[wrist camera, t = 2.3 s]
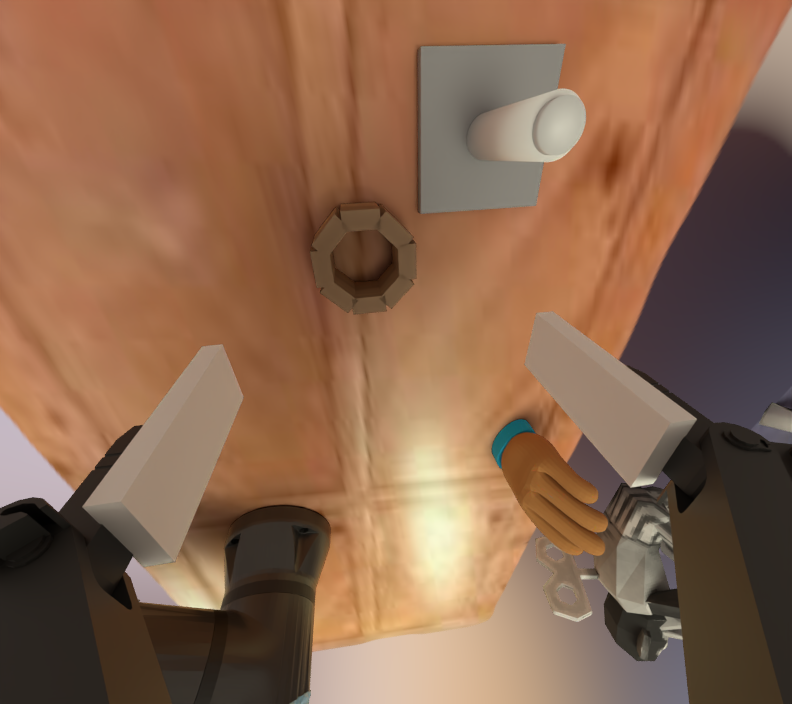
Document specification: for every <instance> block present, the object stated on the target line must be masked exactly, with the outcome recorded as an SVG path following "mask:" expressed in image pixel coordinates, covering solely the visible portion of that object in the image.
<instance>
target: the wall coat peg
mask: <svg viewBox="0 0 792 704" xmlns="http://www.w3.org/2000/svg"><path fill="white" fill-rule="evenodd" d="M565 45H566V44H529V45H470V46H421V47H420V48H419V50H418V212H419V213H420V214H425V213H440V212H454V211H468V210H482V209H497V208H511V207H525V206H536V203H537V197H538V192H539V186H540V181H541V175H542V170H543V164H544V162H552V161H556V160H558V159H560V158H562V157H563V156H564V155H566V154H567V153H568V152H569V151H570V150H571V149H572V147H573V146H574V145H575V144H576V143H577V142H578V140H579V139H580V137H581V135H582V133H583V130H584V127H585V122H586V111H585V107H584V104H583V102H582V101H581V100H580V98H579V96H578V95H577V94H576V93H575V92H573V91H571V90H569V89H557V88H558V83H559V77H560V72H561V67H562V61H563V56H564V50H565Z"/></svg>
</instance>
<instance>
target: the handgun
mask: <svg viewBox="0 0 792 704" xmlns="http://www.w3.org/2000/svg"><path fill="white" fill-rule="evenodd" d="M759 424H761V425H765V426H769V427H773V428H777V429H781V430H785V431H789V432H792V409H789V408H785V407H782V406H779V405H777V404H775V403H773V402H772V403H771V404H770V405H769V407H768V408H767V409H766V410H765V412H764V414H763V417H762V419H761V421H760V423H759Z"/></svg>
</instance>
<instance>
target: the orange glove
mask: <svg viewBox="0 0 792 704" xmlns="http://www.w3.org/2000/svg"><path fill="white" fill-rule="evenodd" d="M492 454H493V456H494V458H495V460H496V462H497V464H498V466H499V467H500V468H501V469H502V470H503V473H504V476H505V478H506V480H507V482H508V484H509V486H510V487H511V489H512V491H513V493H514V495H515V497H516V498H517V500H518V502H519V504H520V506H521V507H522V509H523V510H524V511H525V513H526V514H527V515H528V517H529V518H530V519H531V521H532V522H533V523H534V524H535V526H536V527H537V528H538V529H539V530H540V531H541V532H542V533H543V535H545V537H546V538H547V539H548V540H550V541H551V542H552V543H553V544H554V545H555V546H557V547H558V548H559V549H560V550H562V551H564V552H565V553H568V554H570V555H580V554H582V553H583V551H585V552H587V553H589V554H592V555H595V556H600V555H602V554H603V553H604V551H605V544H604V541H603V540H602V539H601V538H600V537H599V536H598V535H597V534H595V533H594V532H603V531H605V530H606V528H607V526H608V519H607V517H606V516H605V515H604V514H602V513H601V512H599V511H597V510H595V509H593V508H591V507H589V506H588V505H586V504H584V503H587V504H592V503H595V502H596V501H597V499H598V491H597V489H596V488H595V487H594V486H593V485H592V484H591V483H589V482H587V481H586V480H584V479H582V478H581V477H580V476H579V475H577V474H576V473H575V472H574V470H573V469H572V468H570V466H569V465H568V464H567V463H566V462H565V461H564V460H563V458H562V457H561V456H560V455H559V453H558V452H557V450H556V449H555V447H554V446H553V445H552V444H551V443H550V442H549V441H548V440H546V439H545V438H543V437H542V436H540V435H537V434H536V433H535V432H534V430H533V429H532V427H531V426H530V424H529V423H528V422H527V421H526V420H524V419H519V420H515V421H513V422H511V423H509V424H508V425H507V426H505V427H504V428H503V429H502V430H501V431H500V432H499V434H498V435H497V437H496V438H495V440H494V442H493V445H492ZM592 531H593V532H592Z"/></svg>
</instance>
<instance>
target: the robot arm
mask: <svg viewBox="0 0 792 704" xmlns="http://www.w3.org/2000/svg"><path fill="white" fill-rule="evenodd" d="M525 366H526V367H527V368H528V369H529V371H530V372H531V373H532V374H533V375H534V376H535V378H536V379H537V380H538V381H539V382H540V383H541V384H542V386H543V387H544V388H545V389H546V390H547V391H548V393H549V394H550V395H551V396H552V397H553V398H554V400H555V401H556V402H557V403H558V404H559V405H560V407H561V408H562V409H563V410H564V411H565V412H566V413H567V415H568V416H569V417H570V418H571V419H572V420H573V422H574V423H575V424H576V425H577V426H578V427H579V429H580V430H581V431H582V432H583V433H584V434H585V435H586V437H587V438H588V439H589V440H590V441H591V442H592V443H593V445H594V446H595V447H596V448H597V449H598V451H599V452H600V453H601V454H602V455H603V456H604V458H605V459H606V460H607V461H608V462H609V463H610V464H611V466H613V468H614V469H615V470H616V471H617V473H618V474H619V475H620V476H621V477H622V478H623V479H624V481H625V482H626V483H627V484H628V485H629V486H630V488H631V487H638V486H644V485H650V484H654V482H655V481H656V479H657V478H658V476H659V475H660V473H661V472H662V471H663V472H664V473H665V474H666V475H667V476H668V477H669V478H670V479H671V480H670V482H669V483H668V485H667V486H666V487H665V489H664V490H663V491H662V493H661V494H660V496H659V497H658V498H657V502H656V504H658V505H661V504H662V503H663V502H664V500H665V499H667V498H668V507H667V508H668V509H669V514H670V524H671V534H672V543H673V553H674V562H675V570H676V581H677V591H678V600H679V610H680V619H681V629H682V638H683V648H684V657H685V666H686V676H687V686H688V695H689V704H792V444H784V443H775V442H769V441H768V440H766V439H765V438H764V437H762V436H761V435H759V434H757V433H755V432H753V431H751V430H749V429H747V428H744V427H741V426H738V425H735V424H730V423H725V422H722V423H713V422H712V421H710V420H709V419H707V418H706V417H705V416H703V415H702V414H700V413H699V412H698V411H696V410H695V409H694V408H692V407H691V406H689V405H688V404H687V403H685V402H684V401H682V400H681V399H680V398H678V397H677V396H675V395H674V394H673V393H669V390H667V389H666V388H665V387H663V386H662V385H658V382H656V381H655V380H653V379H652V378H651V377H649V376H648V375H647V374H645V373H643V372H641V371H639V370H637V369H634V368H632V367H630V366H625V365H624V364H623V363H621V362H620V361H619V360H617V359H616V358H615V357H613V356H612V355H611V354H609V353H608V352H606V351H605V350H604V349H602V348H601V347H600V346H598V345H597V344H596V343H594V342H593V341H592V340H590V339H589V338H588V337H586V336H585V335H584V334H582V333H581V332H580V331H578V330H577V329H576V328H574V327H573V326H572V325H570V324H569V323H568V322H566V321H565V320H564V319H562V318H561V317H560V316H558V315H557V314H556V313H554V312H553V311H552V312H542V313H536V317H535V321H534V325H533V330H532V334H531V338H530V343H529V347H528V352H527V356H526V360H525ZM243 398H244V397H243V394H242V392H241V389H240V387H239V384H238V382H237V379H236V377H235V374H234V372H233V369H232V367H231V364H230V362H229V359H228V357H227V354H226V352H225V349H224V347H223V344H221V345H211V346H202V347H201V349H200V350H199V351H198V353H197V354H196V355H195V357H194V358H193V359H192V361H191V362H190V363H189V365H188V366H187V367H186V369H185V370H184V371H183V373H182V374H181V375H180V377H179V378H178V379H177V381H176V382H175V383H174V385H173V386H172V387H171V389H170V390H169V391H168V393H167V394H166V395H165V397H164V398H163V399H162V401H161V402H160V403H159V405H158V406H157V407H156V409H155V410H154V412H153V413H152V414H151V416H150V417H149V418H148V420H147V421H146V422H145V424H144V425H140V426H134V427H132V428H131V429H130V430H129V431H127V432H126V433H125V434H124V435H122V436H121V437H120V438H118V439H117V440H116V441H115V443H114V444H113V445H112V446H111V448H110V449H109V450H108V451H107V453H106V454H105V457H104V458H102V459H101V460H100V461H99V463H98V464H97V465H96V466H95V470H92V471H91V473H90V474H89V475H88V476H87V478H86V479H85V480H84V481H83V483H82V484H81V485H80V486H79V488H78V489H77V490H76V491H75V493H74V494H73V495H72V496H71V498H70V499H69V500H68V501H67V502H66V504H65V505H64V506H63V507H62V509H61V510H60V511H59V512H57V511H56V510H55V509H54V508H53V507H52V506H51V505H50V504H48V503H47V502H46V501H45V500H44V499H42V498H34V497H32V498H28V499H23V500H19V501H16V502H14V503H11V504H9V505H6V506H4V507H2V508H0V704H309V698H310V696H311V690H310V676H311V658H312V642H313V625H314V609H315V608H314V606H315V593H316V587H317V584H318V581H319V578H320V575H321V572H322V569H323V566H324V563H325V560H326V557H327V554H328V551H329V548H330V536H331V529H330V525H329V523H328V522H327V521H326V519H325V518H323V517H322V516H321V515H319V514H317V513H315V512H313V511H311V510H308V509H304V508H299V507H291V506H276V507H268V508H263V509H258V510H255V511H252V512H250V513H247V514H245V515H243V516H242V517H240V518H239V519H237V520H236V521H235V522H234V523H233V524H232V526H231V527H230V529H229V532H228V536H227V539H226V542H225V547H224V572H225V594H224V598H223V602H222V606H221V609H220V610H213V609H202V608H192V607H182V606H171V605H162V604H152V603H142V602H139V601H140V600H138V599H137V596H136V593H135V590H134V587H133V584H132V581H131V578H130V577H129V576H128V575H127V573H126V572H125V570H126V568H127V566H128V564H129V562H130V560H131V559H132V557H134V558H135V559H136V560H137V561H138V562H139V563H140V564H141V565H142V566H143V567H147V566H154V565H160V564H166V563H172V562H175V561H176V558H177V556H178V554H179V551H180V549H181V547H182V544H183V542H184V539H185V537H186V535H187V532H188V530H189V527H190V525H191V523H192V520H193V518H194V515H195V513H196V511H197V508H198V506H199V503H200V501H201V499H202V496H203V494H204V491H205V489H206V487H207V484H208V482H209V479H210V477H211V475H212V472H213V470H214V468H215V465H216V463H217V460H218V458H219V456H220V453H221V451H222V448H223V446H224V444H225V441H226V439H227V436H228V434H229V432H230V429H231V427H232V424H233V422H234V420H235V417H236V415H237V412H238V410H239V408H240V405H241V403H242V400H243Z"/></svg>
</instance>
